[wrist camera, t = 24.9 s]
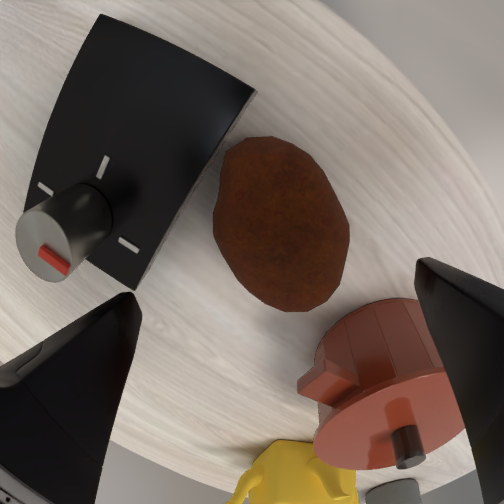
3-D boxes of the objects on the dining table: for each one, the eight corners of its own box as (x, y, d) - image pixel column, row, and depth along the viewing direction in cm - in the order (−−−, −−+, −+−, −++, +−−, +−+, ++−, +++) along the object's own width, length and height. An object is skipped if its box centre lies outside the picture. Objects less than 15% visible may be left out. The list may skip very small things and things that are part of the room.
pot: (358, 250, 19) (392, 324, 13) (475, 344, 23) (507, 402, 16) (258, 355, 24) (251, 433, 18) (390, 413, 27) (403, 472, 21)
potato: (338, 128, 16) (371, 143, 10) (337, 274, 20) (355, 340, 15) (214, 135, 17) (182, 152, 11) (231, 278, 21) (215, 344, 15)
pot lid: (422, 327, 14) (447, 380, 10) (501, 387, 16) (518, 422, 13) (275, 438, 19) (273, 483, 15) (385, 466, 21) (390, 499, 18)
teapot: (365, 464, 33) (372, 523, 25) (272, 482, 37) (268, 537, 28) (342, 419, 28) (350, 502, 19) (222, 443, 32) (211, 514, 23)
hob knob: (54, 224, 17) (8, 258, 13) (70, 171, 16) (17, 197, 11) (100, 256, 18) (60, 299, 14) (122, 205, 16) (76, 241, 12)
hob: (120, 20, 14) (98, 12, 11) (258, 91, 16) (255, 89, 13) (40, 213, 20) (19, 226, 18) (142, 282, 22) (128, 303, 19)
